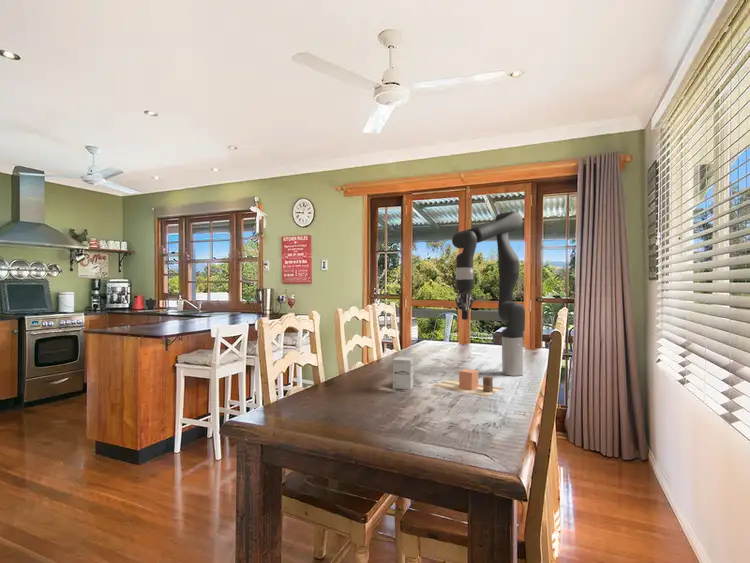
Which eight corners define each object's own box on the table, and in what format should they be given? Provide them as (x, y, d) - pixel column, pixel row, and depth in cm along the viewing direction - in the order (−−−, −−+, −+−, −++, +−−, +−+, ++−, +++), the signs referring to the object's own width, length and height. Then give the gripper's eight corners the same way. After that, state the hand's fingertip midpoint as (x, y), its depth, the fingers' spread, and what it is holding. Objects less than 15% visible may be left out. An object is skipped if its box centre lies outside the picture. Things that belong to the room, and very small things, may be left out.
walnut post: (486, 389, 159) (486, 376, 159) (492, 390, 158) (492, 377, 158) (483, 391, 157) (483, 377, 157) (489, 392, 156) (489, 378, 156)
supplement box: (392, 391, 162) (392, 359, 162) (395, 386, 170) (395, 356, 170) (411, 392, 161) (410, 360, 161) (413, 387, 168) (413, 356, 168)
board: (449, 382, 177) (449, 379, 177) (503, 391, 161) (503, 388, 161) (430, 389, 166) (430, 386, 166) (486, 399, 150) (486, 396, 150)
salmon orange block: (466, 385, 167) (465, 368, 167) (478, 387, 163) (478, 370, 163) (459, 387, 162) (459, 371, 162) (471, 390, 159) (471, 373, 159)
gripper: (464, 278, 183) (464, 318, 182) (448, 278, 173) (449, 320, 172) (480, 278, 178) (480, 318, 178) (465, 278, 168) (465, 321, 168)
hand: (465, 319), depth 175 cm, fingers closed
